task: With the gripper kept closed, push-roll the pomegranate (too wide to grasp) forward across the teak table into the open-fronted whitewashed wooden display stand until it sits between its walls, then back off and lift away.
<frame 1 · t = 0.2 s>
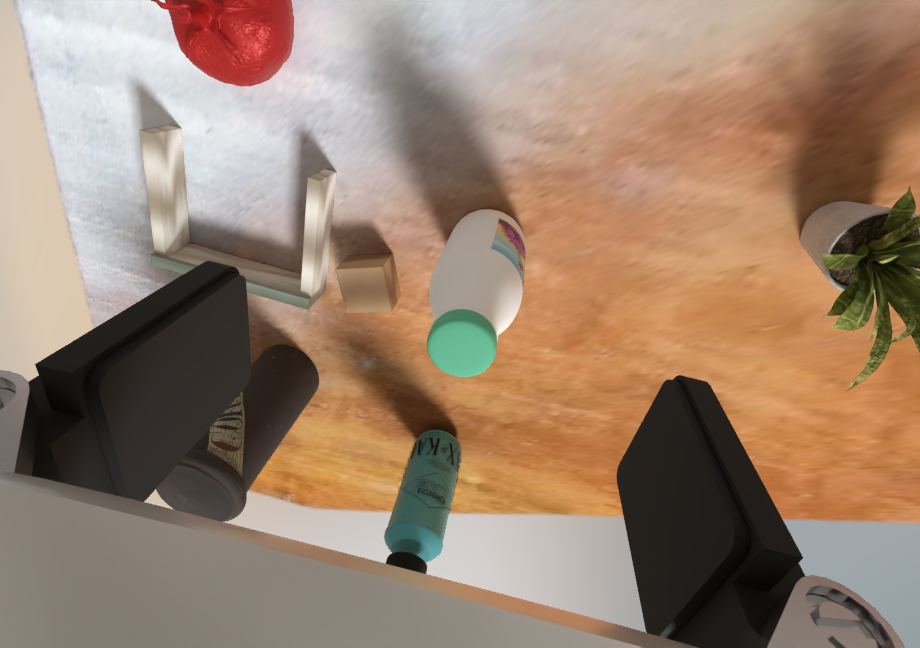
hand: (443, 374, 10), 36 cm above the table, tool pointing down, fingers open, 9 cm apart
container: (291, 371, 59), on the table
beverage bottle: (440, 437, 61), on the table
display stand: (253, 215, 49), on the table
pomegranate: (254, 19, 40), on the table
milk bottle: (488, 244, 47), on the table
teak block: (375, 275, 51), on the table
house plant: (826, 243, 42), on the table
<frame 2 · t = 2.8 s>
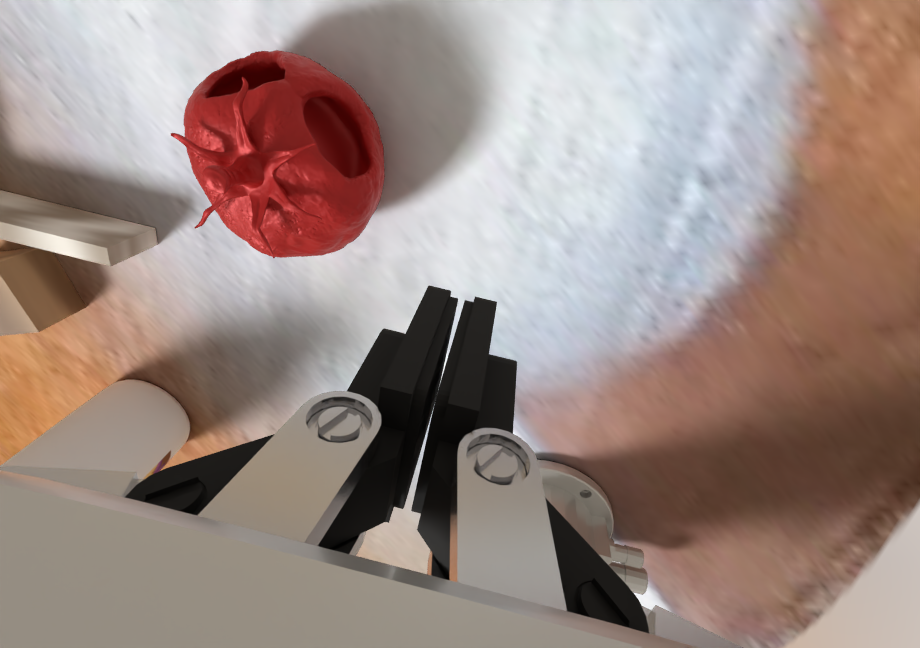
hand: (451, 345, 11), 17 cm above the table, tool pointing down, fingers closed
display stand: (25, 82, 27), on the table
pomegranate: (318, 150, 27), on the table
milk bottle: (152, 411, 40), on the table
teak block: (43, 279, 34), on the table
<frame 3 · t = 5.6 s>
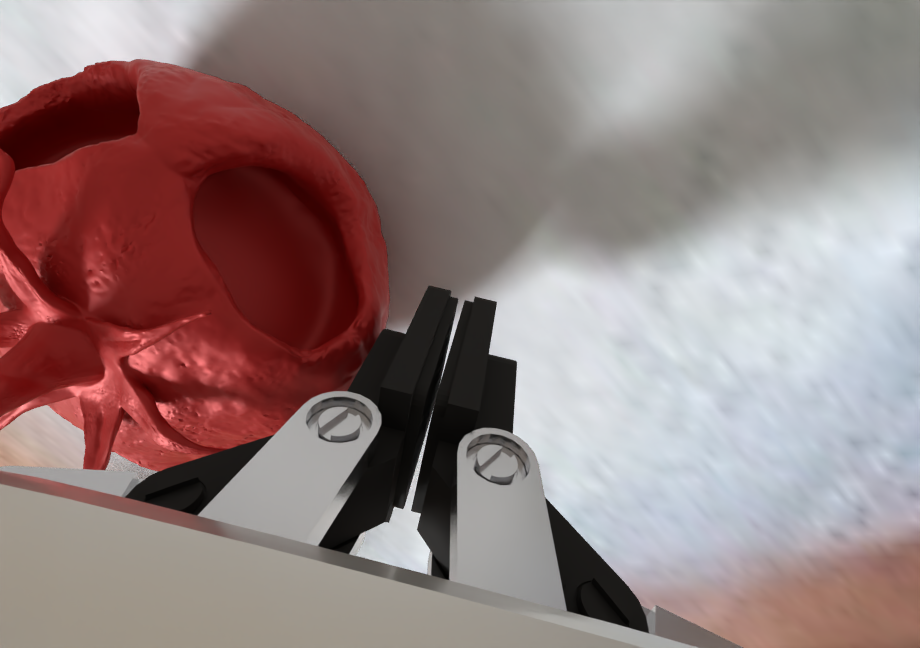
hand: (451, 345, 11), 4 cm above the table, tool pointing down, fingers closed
pomegranate: (269, 236, 15), on the table, touching gripper
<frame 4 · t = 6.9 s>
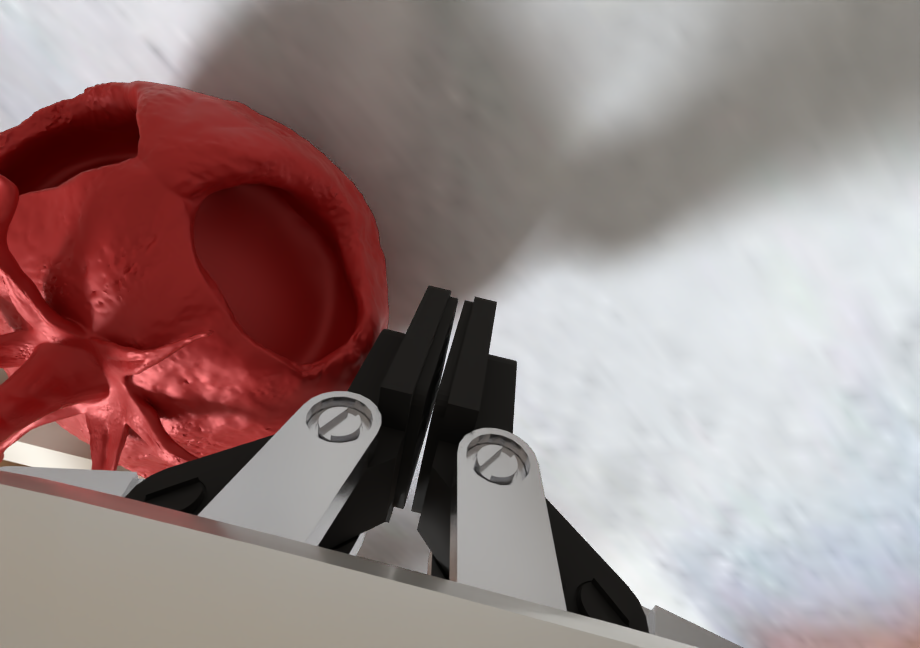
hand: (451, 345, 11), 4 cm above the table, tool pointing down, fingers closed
pomegranate: (269, 248, 15), on the table, touching gripper
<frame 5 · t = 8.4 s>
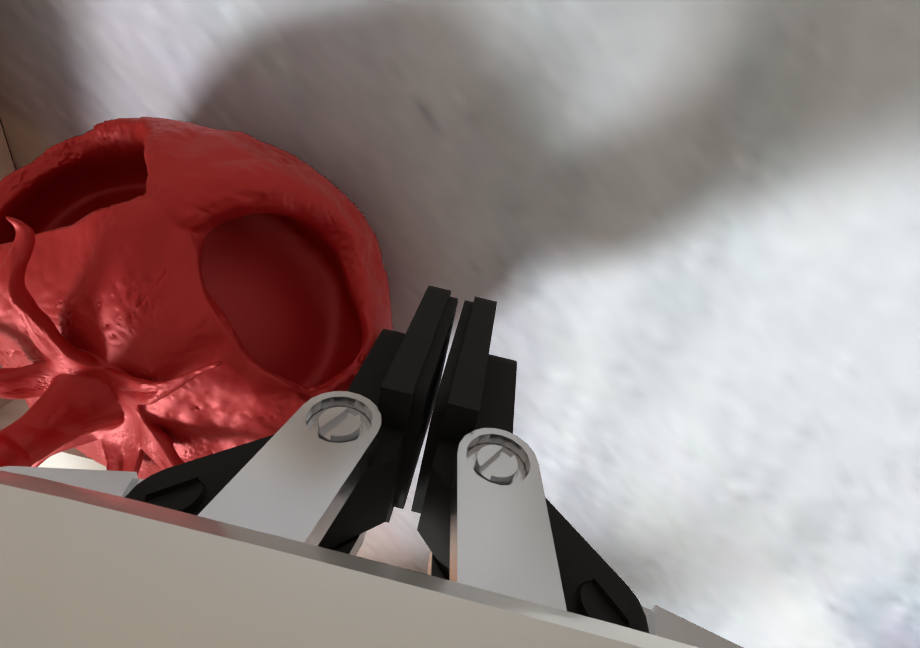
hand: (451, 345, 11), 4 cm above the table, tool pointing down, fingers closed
display stand: (177, 215, 15), on the table
pomegranate: (275, 267, 15), on the table, touching gripper
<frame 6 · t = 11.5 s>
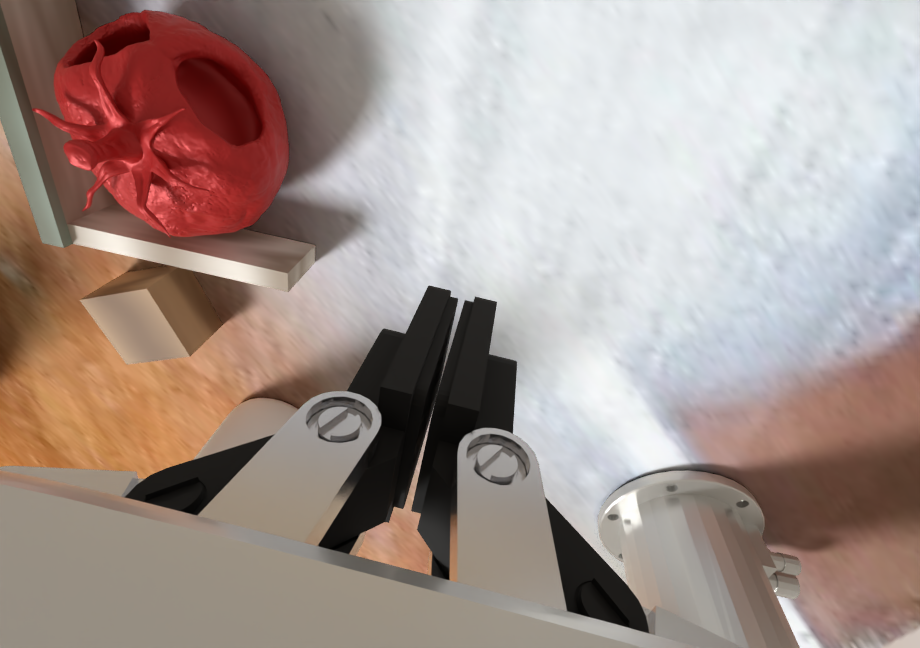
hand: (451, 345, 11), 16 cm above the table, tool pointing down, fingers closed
display stand: (189, 90, 24), on the table
pomegranate: (224, 121, 25), on the table
milk bottle: (278, 427, 38), on the table
teak block: (176, 298, 32), on the table
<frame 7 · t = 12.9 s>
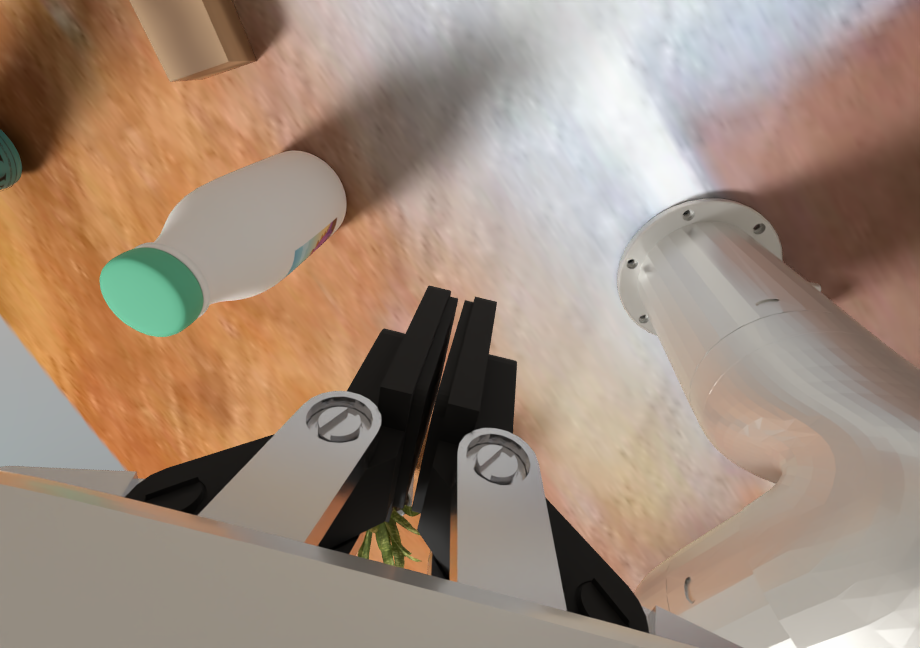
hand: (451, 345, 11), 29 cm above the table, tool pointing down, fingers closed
beverage bottle: (6, 147, 41), on the table
milk bottle: (307, 194, 40), on the table
teak block: (214, 33, 34), on the table
house plant: (383, 453, 55), on the table
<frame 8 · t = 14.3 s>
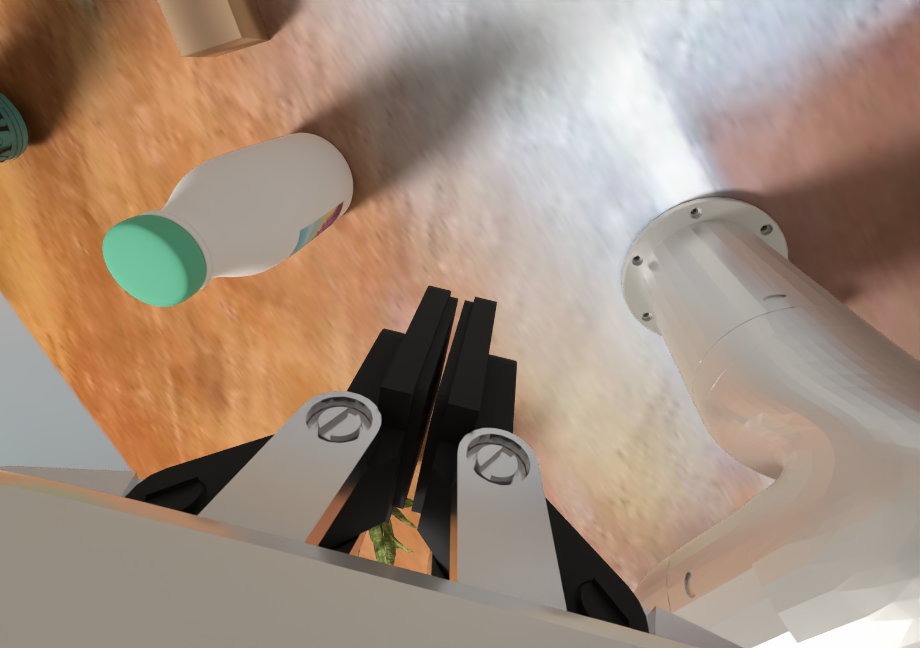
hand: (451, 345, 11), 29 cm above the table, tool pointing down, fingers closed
beverage bottle: (13, 118, 41), on the table
milk bottle: (314, 178, 40), on the table
teak block: (228, 11, 34), on the table
house plant: (379, 444, 55), on the table
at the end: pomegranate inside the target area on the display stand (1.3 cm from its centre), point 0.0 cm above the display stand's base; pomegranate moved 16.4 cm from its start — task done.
